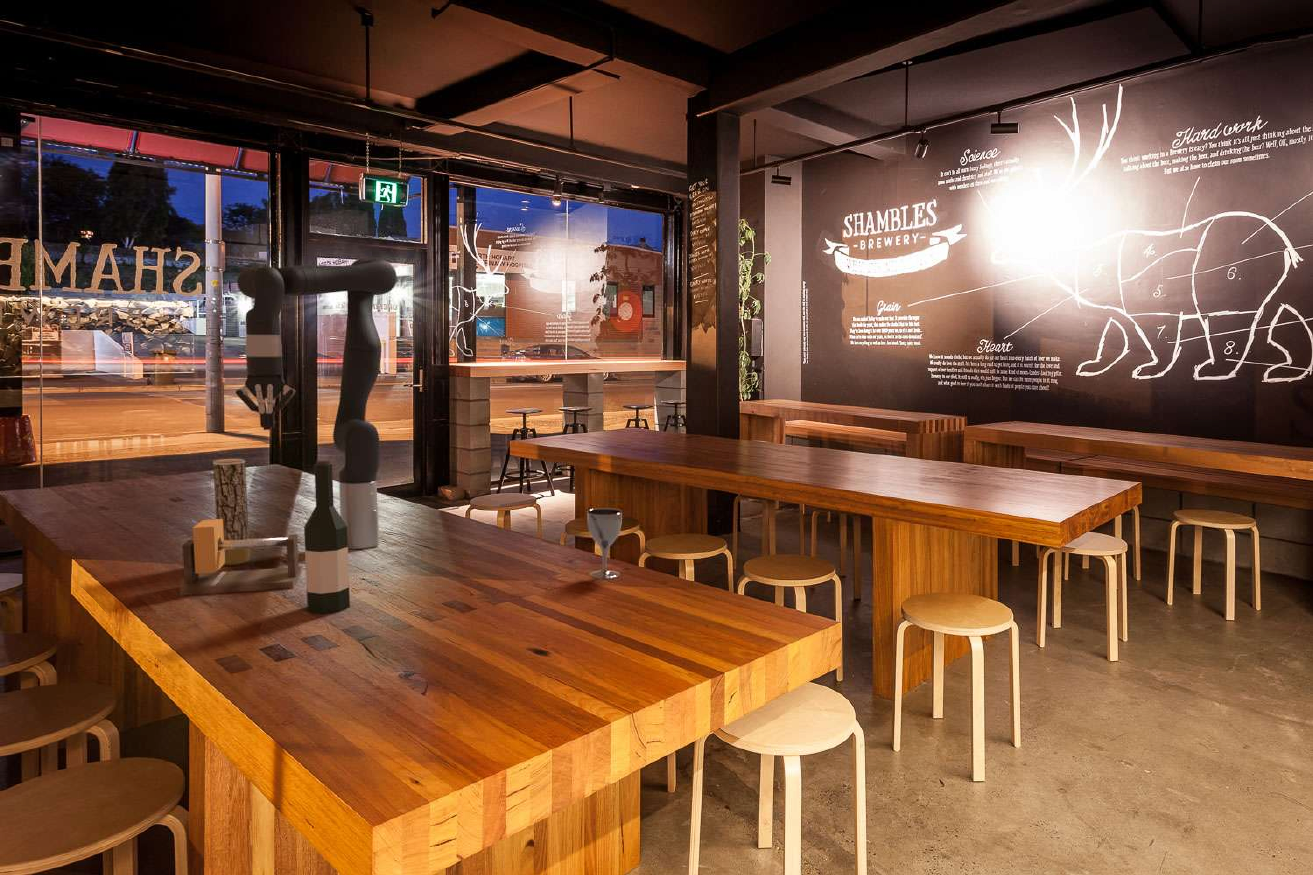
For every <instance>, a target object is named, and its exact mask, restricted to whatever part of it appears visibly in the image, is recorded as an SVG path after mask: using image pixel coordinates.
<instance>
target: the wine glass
mask: <svg viewBox="0 0 1313 875" xmlns="http://www.w3.org/2000/svg"><path fill="white" fill-rule="evenodd" d="M622 520H623V511H622V510H621V509H618V508H614V507H612V508H611V507H596V508H592V509H589V510H587V526H588V527H587V528H588V531H589V534H590V536H591V538H592V539H593V540H594V542H595V543H596V544H597V545H598V546H599V548H600V551H601V554H602V569H601V570H596V571H592V572H590V573H589V577H591V578H592V579H593V578H594V579H598V580H610V579H616V578H618V577H620V575H621V574H620V572H618V571H616V570H609V569H607V568H608V567H607V560H608V559H607V558H608V552H609V549H610V547H611V545H612V544H614V542H615V541H616V540H617V539H618V537H619V536H620V533H621V529H622V528H621V527H622V525H623V524H622V523H623V521H622Z"/></svg>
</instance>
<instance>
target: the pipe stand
mask: <svg viewBox="0 0 1313 875" xmlns="http://www.w3.org/2000/svg"><path fill="white" fill-rule="evenodd" d="M298 541H299V540H298V534H289V536H287V537H285V536H284V537H264V538H249V539H243V540H223V541H220V540H218V550H226V549H245V548H249V549H259V548H260V549H262V548H277V547H278V548H280V547H286V561H287V567H279V568H266V569H265V568H263V569H247V570H231V571H230V570H228V571H217V572H215V573H198V574H196V573H195V555H194V539H188V540H187V541H186V542H184V543H183V544H182V559H183V560H182V561H183V562H182V563H183V578H184V584H183V585H182V586H181V587H180V588H179V592H180V593H179V595H180V596H192V595H193V596H194V595H209V594H225V593H237V592H239V593H240V592H241V593H242V592H254V591H271V590H272V591H273V590H286V589H294V587H295V585H296V584H297V582H298V580H299V578H300V577H301V575H302V567H301V566H299V564H300V563H299V549H298V548H299V546H298V545H299V544H298V543H299V542H298ZM299 576H300V577H299Z"/></svg>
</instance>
